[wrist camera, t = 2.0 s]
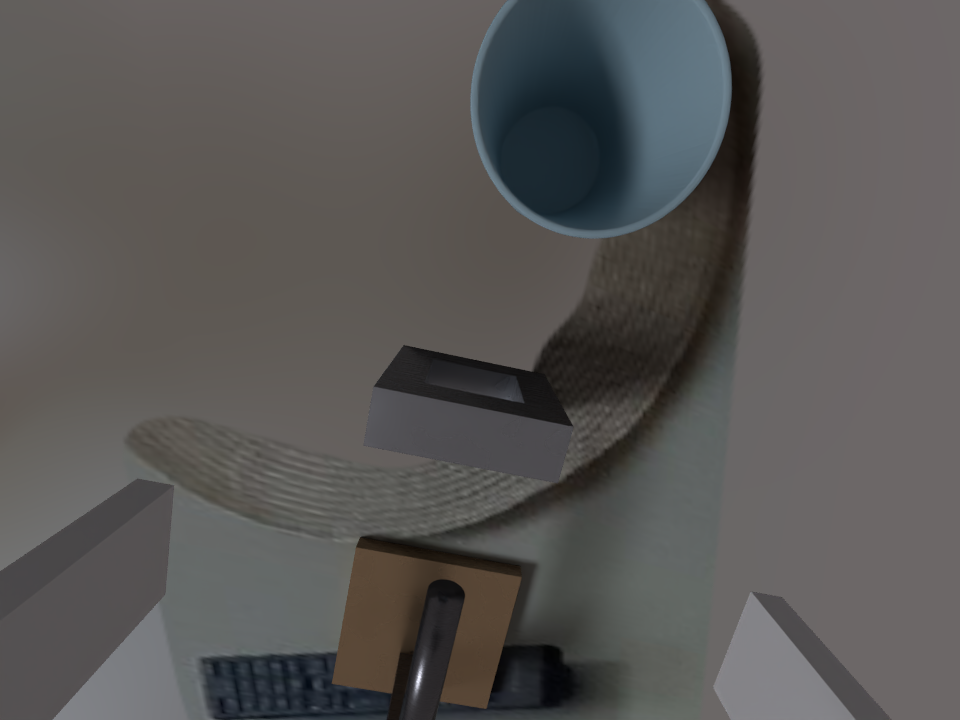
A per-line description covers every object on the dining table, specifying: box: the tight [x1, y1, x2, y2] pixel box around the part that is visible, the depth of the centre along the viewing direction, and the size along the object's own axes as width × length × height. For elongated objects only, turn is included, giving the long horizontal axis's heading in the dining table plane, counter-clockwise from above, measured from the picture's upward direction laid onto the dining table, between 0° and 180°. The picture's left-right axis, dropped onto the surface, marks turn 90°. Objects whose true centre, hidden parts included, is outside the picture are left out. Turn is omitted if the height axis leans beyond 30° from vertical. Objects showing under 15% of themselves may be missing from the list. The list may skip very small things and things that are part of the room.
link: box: [364, 345, 573, 483], centre depth 23 cm, size 2×8×8 cm, turn 78°
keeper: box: [332, 537, 522, 720], centre depth 25 cm, size 14×10×10 cm
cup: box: [471, 0, 732, 238], centre depth 19 cm, size 8×8×10 cm
